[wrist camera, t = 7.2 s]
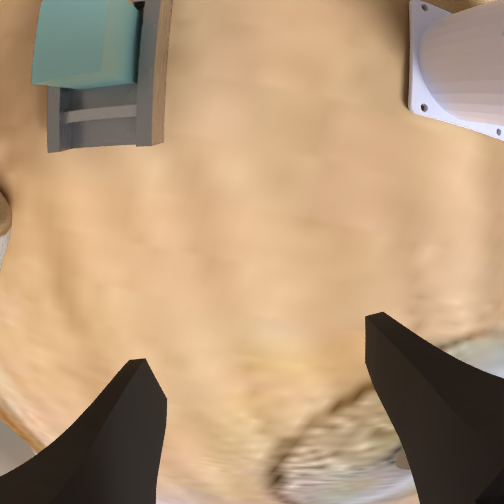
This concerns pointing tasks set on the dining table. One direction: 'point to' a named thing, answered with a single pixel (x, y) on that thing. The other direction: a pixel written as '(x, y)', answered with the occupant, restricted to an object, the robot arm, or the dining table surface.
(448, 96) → the robot arm
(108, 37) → the teal and orange block
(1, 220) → the ceramic mug
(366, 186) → the dining table surface
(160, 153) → the dining table surface
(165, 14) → the rail
